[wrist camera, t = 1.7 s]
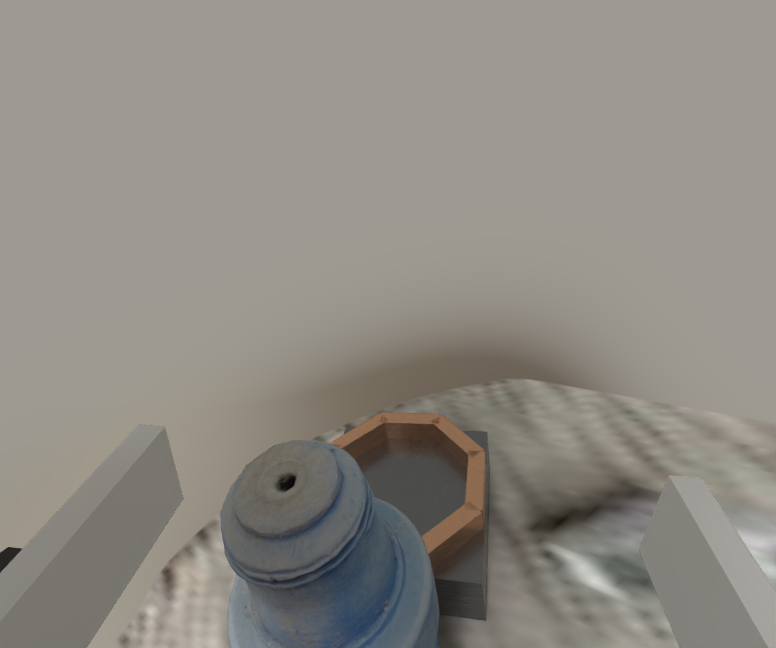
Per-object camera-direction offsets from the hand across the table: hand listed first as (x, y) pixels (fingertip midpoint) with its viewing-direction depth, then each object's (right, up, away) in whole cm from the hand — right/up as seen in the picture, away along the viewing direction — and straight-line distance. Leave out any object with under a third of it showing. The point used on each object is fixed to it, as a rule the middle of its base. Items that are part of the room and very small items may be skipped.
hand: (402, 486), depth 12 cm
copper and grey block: (+2, -17, +35) cm, 39 cm away
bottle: (+1, -26, +21) cm, 34 cm away
